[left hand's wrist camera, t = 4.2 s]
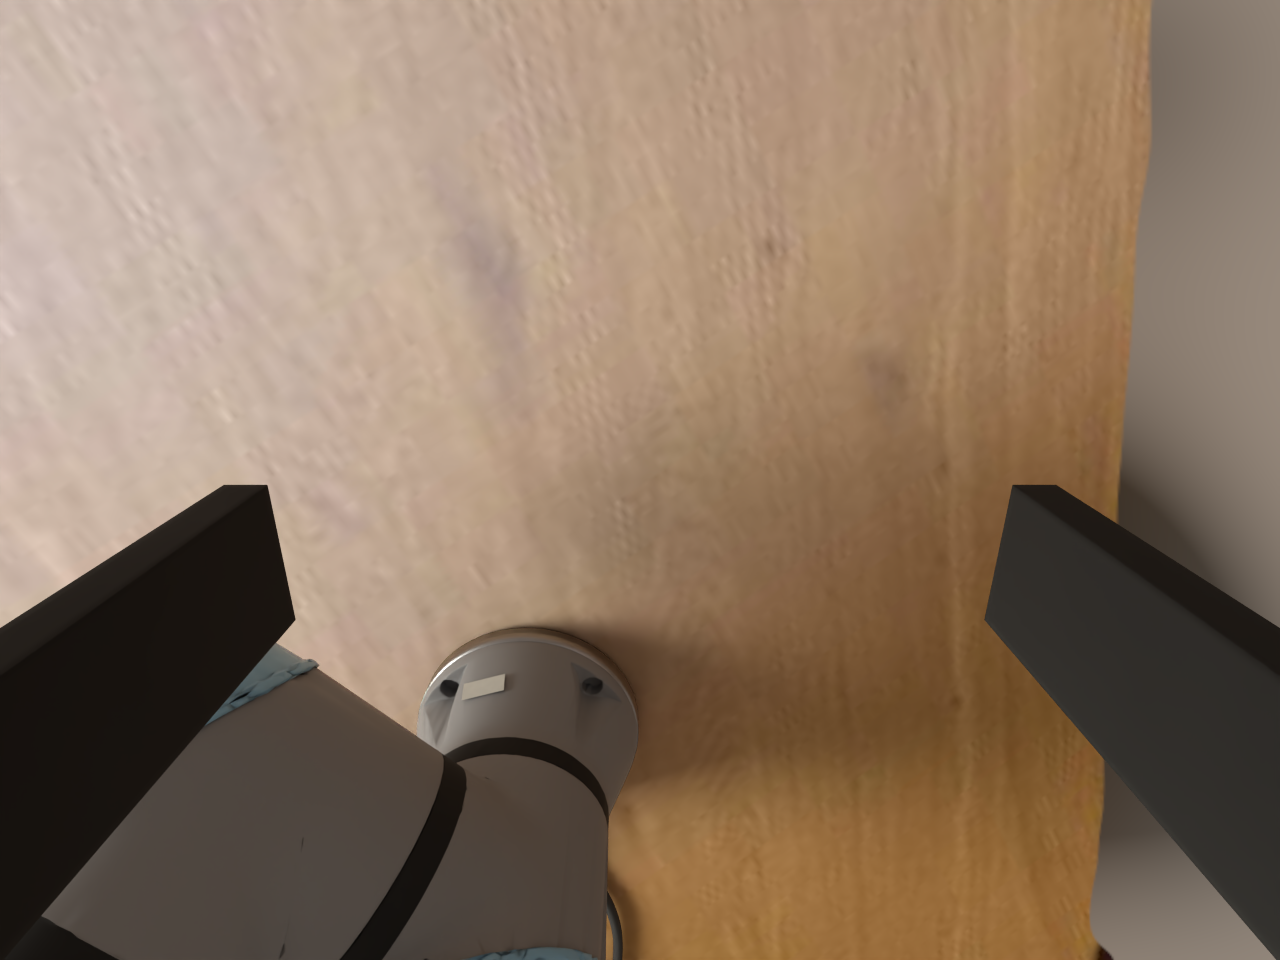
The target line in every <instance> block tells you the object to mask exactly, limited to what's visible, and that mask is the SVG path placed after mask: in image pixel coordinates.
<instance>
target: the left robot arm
mask: <svg viewBox="0 0 1280 960" xmlns="http://www.w3.org/2000/svg"><path fill="white" fill-rule="evenodd" d="M294 621H295V615H294V610H293V605H292V600H291V596H290V591H289V586H288V581H287V577H286V572H285V567H284V562H283V557H282V553H281V548H280V543H279V538H278V533H277V529H276V524H275V519H274V514H273V509H272V505H271V500H270V495H269V490H268V486H267V485H223V486H222V487H220V488H218V489H217V490H215V491H214V492H212V493H211V494H209V495H207V496H206V497H204V498H203V499H201V500H200V501H198V502H197V503H195V504H193V505H192V506H190V507H189V508H187V509H186V510H184V511H182V512H181V513H179V514H178V515H176V516H175V517H173V518H172V519H170V520H168V521H167V522H165V523H164V524H162V525H161V526H159V527H157V528H156V529H154V530H153V531H151V532H150V533H148V534H147V535H145V536H143V537H142V538H140V539H139V540H137V541H136V542H134V543H132V544H131V545H129V546H128V547H126V548H125V549H123V550H122V551H120V552H118V553H117V554H115V555H114V556H112V557H111V558H109V559H107V560H106V561H104V562H103V563H101V564H100V565H98V566H97V567H95V568H93V569H92V570H90V571H89V572H87V573H86V574H84V575H82V576H81V577H79V578H78V579H76V580H75V581H73V582H72V583H70V584H68V585H67V586H65V587H64V588H62V589H61V590H59V591H57V592H56V593H54V594H53V595H51V596H50V597H48V598H47V599H45V600H43V601H42V602H40V603H39V604H37V605H36V606H34V607H32V608H31V609H29V610H28V611H26V612H25V613H23V614H21V615H20V616H18V617H17V618H15V619H14V620H12V621H11V622H9V623H7V624H6V625H4V626H3V627H1V628H0V960H606V915H608V918H609V921H610V925H611V929H612V934H613V960H622V953H623V941H622V930H621V925H620V920H619V917H618V913H617V910H616V908H615V905H614V903H613V901H612V899H611V897H610V895H609V893H608V891H607V868H608V822H609V815H610V813H611V810H612V808H613V806H614V804H615V802H616V799H617V797H618V795H619V793H620V791H621V788H622V786H623V784H624V782H625V780H626V777H627V775H628V773H629V771H630V768H631V766H632V763H633V760H634V756H635V753H636V749H637V743H638V711H637V705H636V700H635V697H634V694H633V691H632V689H631V687H630V685H629V683H628V681H627V680H626V678H625V676H624V675H623V674H622V672H621V671H620V670H619V668H618V667H617V666H616V665H615V664H614V663H613V662H612V661H611V660H610V659H609V658H608V657H607V656H606V655H604V654H603V653H602V652H600V651H599V650H598V649H596V648H595V647H593V646H591V645H590V644H588V643H586V642H584V641H582V640H580V639H578V638H575V637H573V636H570V635H567V634H564V633H560V632H557V631H552V630H546V629H538V628H514V629H506V630H500V631H496V632H492V633H489V634H486V635H483V636H480V637H478V638H476V639H474V640H471V641H470V642H468V643H466V644H464V645H463V646H461V647H460V648H458V649H457V650H456V651H454V652H453V653H452V654H451V655H450V656H449V657H447V658H446V660H445V661H444V662H443V663H442V664H441V665H440V667H439V668H438V669H437V671H436V672H435V674H434V676H433V677H432V679H431V681H430V683H429V686H428V688H427V690H426V692H425V695H424V697H423V700H422V702H421V706H420V709H419V715H418V723H417V736H416V735H414V734H413V733H411V732H410V731H408V730H407V729H405V728H404V727H402V726H401V725H400V724H398V723H397V722H395V721H394V720H392V719H391V718H389V717H388V716H386V715H385V714H383V713H382V712H380V711H379V710H378V709H376V708H375V707H373V706H372V705H370V704H369V703H367V702H366V701H364V700H363V699H361V698H360V697H358V696H357V695H355V694H354V693H353V692H351V691H350V690H348V689H347V688H345V687H344V686H342V685H341V684H339V683H338V682H336V681H335V680H333V679H332V678H331V677H329V676H328V675H326V674H325V673H323V672H322V671H320V670H319V669H317V667H318V666H319V664H318V663H317V662H316V661H314V660H312V659H308V660H304V659H302V658H300V657H298V656H297V655H295V654H293V653H292V652H290V651H288V650H287V649H285V648H283V647H282V646H280V645H279V644H277V643H276V642H277V641H278V640H279V638H280V637H281V636H282V635H283V634H284V633H285V631H286V630H287V629H288V628H289V627H290V626H291V624H292V623H293V622H294ZM985 621H986V622H987V623H988V624H989V626H990V627H991V628H992V629H993V630H994V631H995V633H996V634H997V635H998V636H999V637H1000V638H1001V640H1002V641H1003V642H1004V643H1005V644H1006V645H1007V647H1008V648H1009V649H1010V650H1011V651H1012V652H1013V654H1014V655H1015V656H1016V657H1017V658H1018V659H1019V661H1020V662H1021V663H1022V664H1023V665H1024V666H1025V668H1026V669H1027V670H1028V671H1029V672H1030V673H1031V675H1032V676H1033V677H1034V678H1035V679H1036V680H1037V682H1038V683H1039V684H1040V685H1041V686H1042V687H1043V689H1044V690H1045V691H1046V692H1047V693H1048V694H1049V696H1050V697H1051V698H1052V699H1053V700H1054V701H1055V702H1056V704H1057V705H1058V706H1059V707H1060V708H1061V709H1062V711H1063V712H1064V713H1065V714H1066V715H1067V716H1068V718H1069V719H1070V720H1071V721H1072V722H1073V723H1074V725H1075V726H1076V727H1077V728H1078V729H1079V730H1080V732H1081V733H1082V734H1083V735H1084V736H1085V737H1086V739H1087V740H1088V741H1089V742H1090V743H1091V744H1092V746H1093V747H1094V748H1095V749H1096V750H1097V751H1098V753H1099V754H1100V755H1101V756H1102V757H1103V758H1104V760H1105V761H1106V762H1107V763H1108V764H1109V765H1110V766H1111V768H1112V769H1113V770H1114V771H1115V772H1116V774H1117V775H1118V776H1119V777H1120V778H1121V779H1122V781H1123V782H1124V783H1125V784H1126V785H1127V786H1128V787H1129V789H1130V790H1131V791H1132V792H1133V793H1134V794H1135V796H1136V797H1137V798H1138V799H1139V800H1140V801H1141V803H1142V804H1143V805H1144V806H1145V807H1146V808H1147V810H1148V811H1149V812H1150V813H1151V814H1152V815H1153V817H1154V818H1155V819H1156V820H1157V821H1158V822H1159V824H1160V825H1161V826H1162V827H1163V828H1164V829H1165V831H1166V832H1167V833H1168V834H1169V835H1170V836H1171V838H1172V839H1173V840H1174V841H1175V842H1176V843H1177V844H1178V846H1179V847H1180V848H1181V849H1182V850H1183V852H1184V853H1185V854H1186V855H1187V856H1188V857H1189V858H1190V860H1191V861H1192V862H1193V863H1194V864H1195V866H1196V867H1197V868H1198V869H1199V870H1200V871H1201V872H1202V874H1203V875H1204V876H1205V877H1206V878H1207V879H1208V881H1209V882H1210V883H1211V884H1212V885H1213V886H1214V888H1215V889H1216V890H1217V891H1218V892H1219V893H1220V895H1221V896H1222V897H1223V898H1224V899H1225V900H1226V902H1227V903H1228V904H1229V905H1230V906H1231V907H1232V909H1233V910H1234V911H1235V912H1236V913H1237V914H1238V915H1239V917H1240V918H1241V919H1242V920H1243V921H1244V923H1245V924H1246V925H1247V926H1248V927H1249V928H1250V930H1251V931H1252V932H1253V933H1254V934H1255V935H1256V937H1257V938H1258V939H1259V940H1260V941H1261V942H1262V943H1263V945H1264V946H1265V947H1266V948H1267V949H1268V950H1269V952H1270V953H1271V954H1272V955H1273V956H1274V957H1275V959H1276V960H1280V628H1279V627H1277V626H1276V625H1274V624H1272V623H1271V622H1269V621H1268V620H1266V619H1265V618H1263V617H1262V616H1260V615H1258V614H1257V613H1255V612H1254V611H1252V610H1251V609H1249V608H1248V607H1246V606H1244V605H1243V604H1241V603H1240V602H1238V601H1237V600H1235V599H1233V598H1232V597H1230V596H1229V595H1227V594H1226V593H1224V592H1222V591H1221V590H1219V589H1218V588H1216V587H1215V586H1213V585H1212V584H1210V583H1208V582H1207V581H1205V580H1204V579H1202V578H1201V577H1199V576H1198V575H1196V574H1194V573H1193V572H1191V571H1190V570H1188V569H1187V568H1185V567H1183V566H1182V565H1180V564H1179V563H1177V562H1176V561H1174V560H1173V559H1171V558H1169V557H1168V556H1166V555H1165V554H1163V553H1162V552H1160V551H1158V550H1157V549H1155V548H1154V547H1152V546H1151V545H1149V544H1148V543H1146V542H1144V541H1143V540H1141V539H1140V538H1138V537H1137V536H1135V535H1133V534H1132V533H1130V532H1129V531H1127V530H1126V529H1124V528H1123V527H1121V526H1119V525H1118V524H1116V523H1115V522H1113V521H1112V520H1110V519H1108V518H1107V517H1105V516H1104V515H1102V514H1101V513H1099V512H1098V511H1096V510H1094V509H1093V508H1091V507H1090V506H1088V505H1087V504H1085V503H1083V502H1082V501H1080V500H1079V499H1077V498H1076V497H1074V496H1073V495H1071V494H1069V493H1068V492H1066V491H1065V490H1063V489H1062V488H1060V487H1058V486H1057V485H1013V486H1012V490H1011V495H1010V500H1009V505H1008V510H1007V514H1006V519H1005V524H1004V529H1003V533H1002V538H1001V543H1000V548H999V553H998V557H997V562H996V567H995V572H994V577H993V581H992V586H991V591H990V596H989V600H988V605H987V610H986V615H985Z"/></svg>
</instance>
